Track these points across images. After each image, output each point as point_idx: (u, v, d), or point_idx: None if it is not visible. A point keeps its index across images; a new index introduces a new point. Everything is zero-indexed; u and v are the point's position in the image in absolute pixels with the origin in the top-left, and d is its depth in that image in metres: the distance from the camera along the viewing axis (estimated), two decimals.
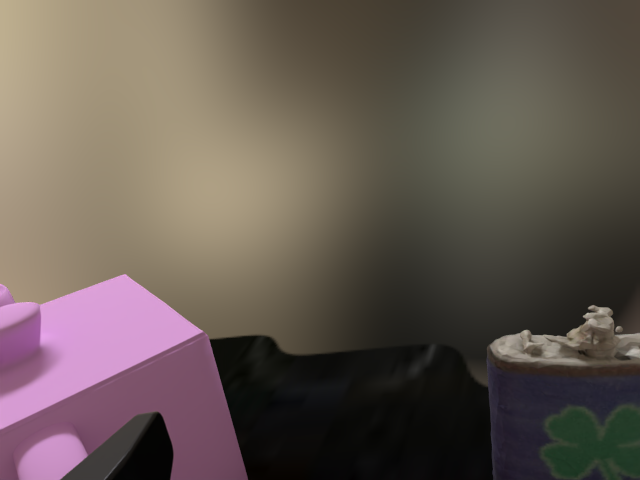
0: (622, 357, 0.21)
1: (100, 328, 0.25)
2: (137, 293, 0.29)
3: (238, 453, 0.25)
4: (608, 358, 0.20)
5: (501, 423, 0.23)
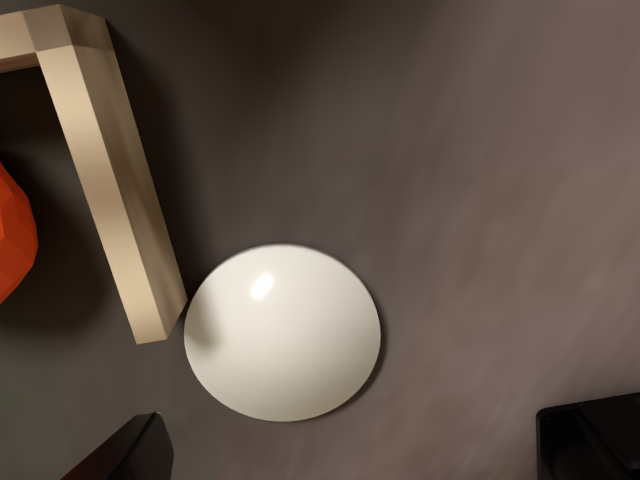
0: None
1: None
2: None
3: None
4: None
5: None
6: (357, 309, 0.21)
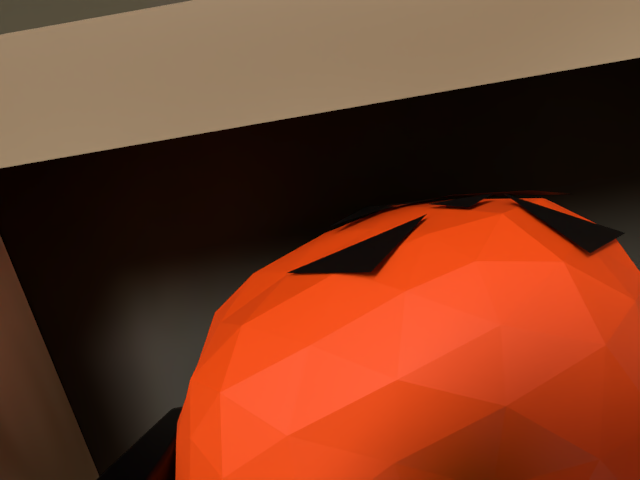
0: None
1: None
2: None
3: None
4: None
5: None
6: None
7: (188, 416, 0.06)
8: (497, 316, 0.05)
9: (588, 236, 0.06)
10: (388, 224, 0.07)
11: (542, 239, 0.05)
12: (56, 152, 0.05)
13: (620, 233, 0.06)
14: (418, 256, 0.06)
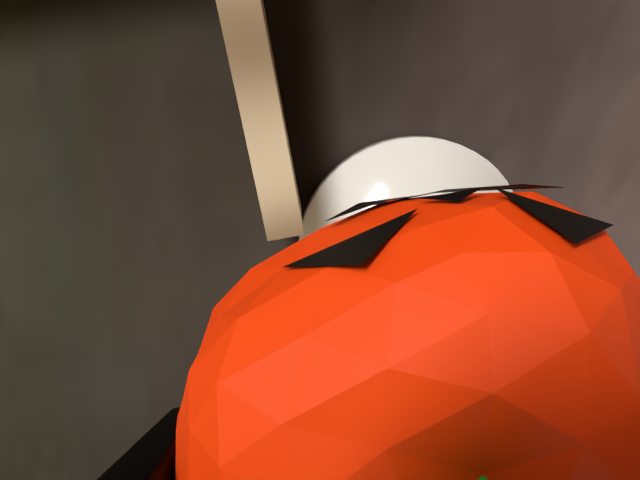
0: None
1: None
2: None
3: None
4: None
5: None
6: None
7: (187, 408, 0.06)
8: (484, 306, 0.05)
9: (576, 228, 0.06)
10: (381, 219, 0.07)
11: (529, 231, 0.06)
12: None
13: (608, 225, 0.06)
14: (408, 249, 0.06)
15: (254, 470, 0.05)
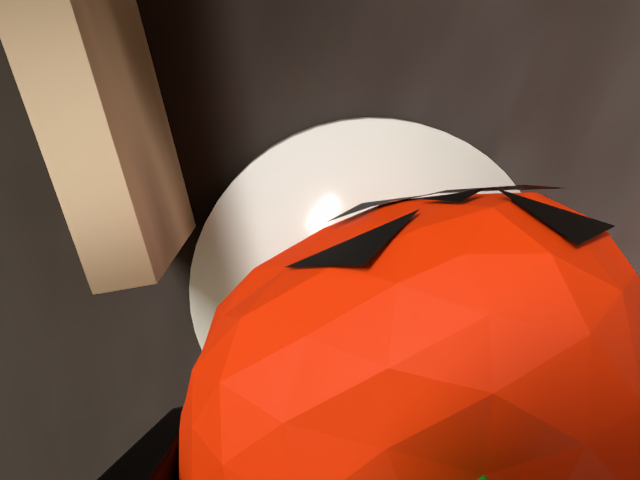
0: None
1: None
2: None
3: None
4: None
5: None
6: None
7: (190, 406, 0.06)
8: (484, 306, 0.05)
9: (577, 229, 0.06)
10: (383, 219, 0.07)
11: (531, 232, 0.06)
12: None
13: (610, 226, 0.06)
14: (410, 250, 0.06)
15: (255, 468, 0.05)
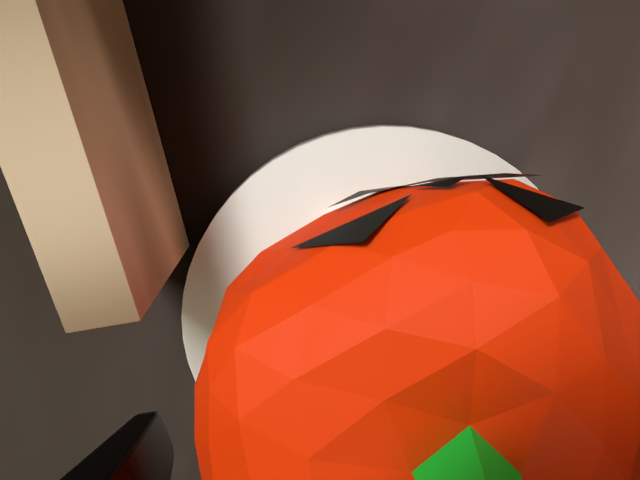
0: None
1: None
2: None
3: None
4: None
5: None
6: None
7: (206, 372, 0.07)
8: (469, 275, 0.06)
9: (550, 209, 0.07)
10: (380, 204, 0.07)
11: (509, 211, 0.06)
12: None
13: (580, 208, 0.07)
14: (403, 229, 0.06)
15: (268, 421, 0.06)
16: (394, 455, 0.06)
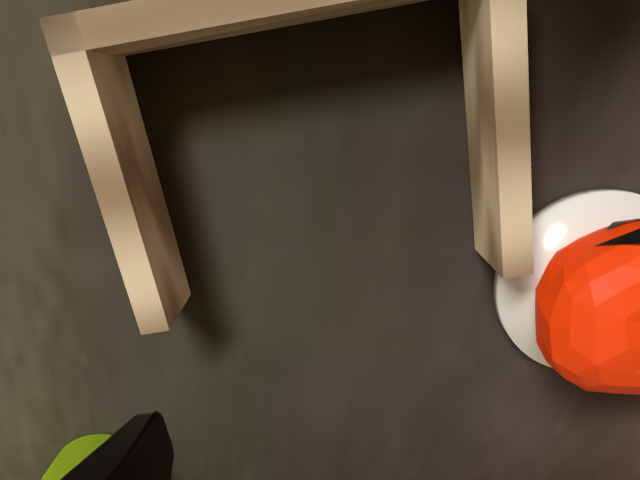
0: None
1: None
2: None
3: None
4: None
5: None
6: None
7: (567, 293, 0.18)
8: None
9: None
10: (631, 228, 0.19)
11: None
12: (180, 30, 0.16)
13: None
14: None
15: (608, 307, 0.17)
16: None
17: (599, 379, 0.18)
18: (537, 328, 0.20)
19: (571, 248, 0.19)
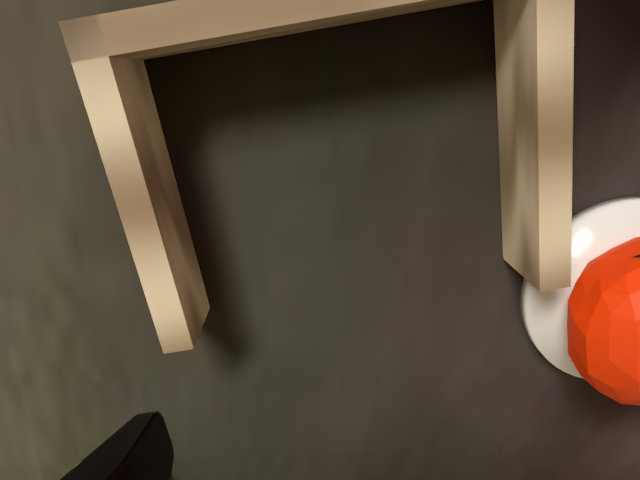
0: None
1: None
2: None
3: None
4: None
5: None
6: None
7: (605, 306, 0.18)
8: None
9: None
10: None
11: None
12: (211, 35, 0.15)
13: None
14: None
15: None
16: None
17: (639, 394, 0.18)
18: (570, 340, 0.20)
19: (606, 259, 0.19)
